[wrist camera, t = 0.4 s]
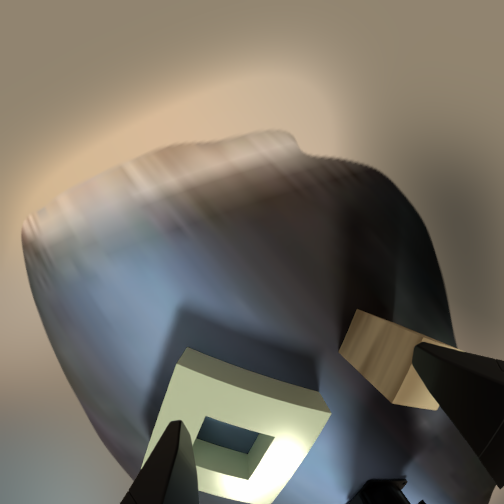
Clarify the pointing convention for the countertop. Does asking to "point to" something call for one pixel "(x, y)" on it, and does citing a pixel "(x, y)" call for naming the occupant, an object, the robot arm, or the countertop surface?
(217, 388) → the well holder
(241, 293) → the countertop surface
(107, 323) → the countertop surface
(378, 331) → the peg
